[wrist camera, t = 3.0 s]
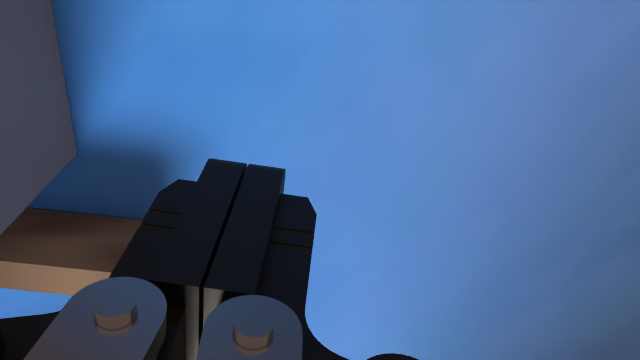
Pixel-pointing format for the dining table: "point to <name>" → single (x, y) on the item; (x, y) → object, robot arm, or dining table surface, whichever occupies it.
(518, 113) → the dining table surface
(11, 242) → the wooden maze tray
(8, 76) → the block
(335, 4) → the dining table surface
